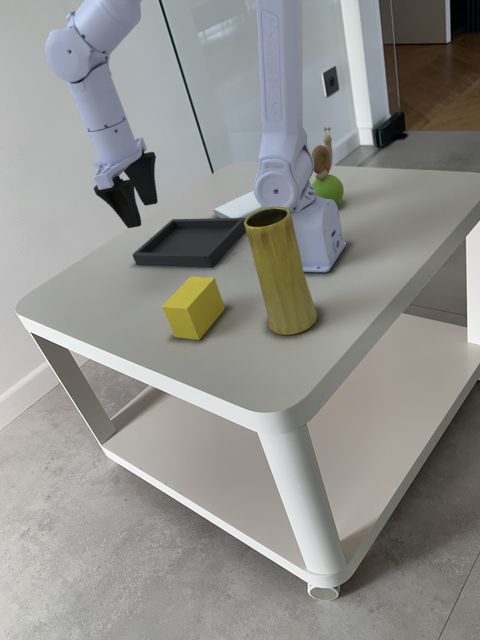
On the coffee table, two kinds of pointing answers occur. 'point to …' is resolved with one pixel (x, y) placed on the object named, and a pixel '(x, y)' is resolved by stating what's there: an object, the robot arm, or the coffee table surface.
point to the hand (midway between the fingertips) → (143, 214)
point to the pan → (191, 242)
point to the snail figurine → (326, 172)
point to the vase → (280, 270)
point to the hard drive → (239, 207)
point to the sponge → (194, 307)
